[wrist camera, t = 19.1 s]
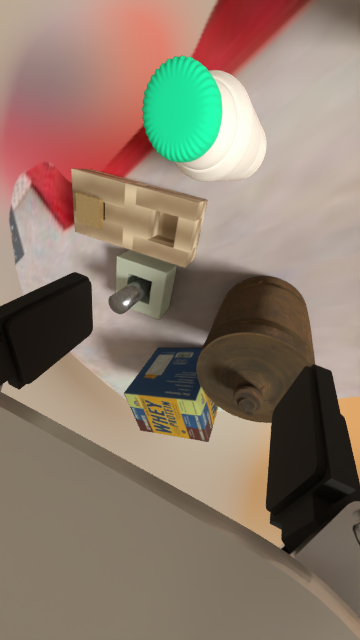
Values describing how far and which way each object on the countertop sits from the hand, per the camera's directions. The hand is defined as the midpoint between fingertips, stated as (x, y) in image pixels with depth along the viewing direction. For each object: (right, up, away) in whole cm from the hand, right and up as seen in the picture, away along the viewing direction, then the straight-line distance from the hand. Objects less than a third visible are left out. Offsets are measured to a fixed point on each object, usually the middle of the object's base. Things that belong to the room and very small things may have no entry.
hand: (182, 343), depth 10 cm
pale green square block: (-6, +9, +39) cm, 41 cm away
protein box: (+2, -10, +47) cm, 48 cm away
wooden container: (+15, +2, +34) cm, 38 cm away
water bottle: (+8, +25, +24) cm, 35 cm away
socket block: (-7, +20, +33) cm, 39 cm away
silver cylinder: (-7, +9, +38) cm, 40 cm away
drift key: (-13, +21, +32) cm, 41 cm away
